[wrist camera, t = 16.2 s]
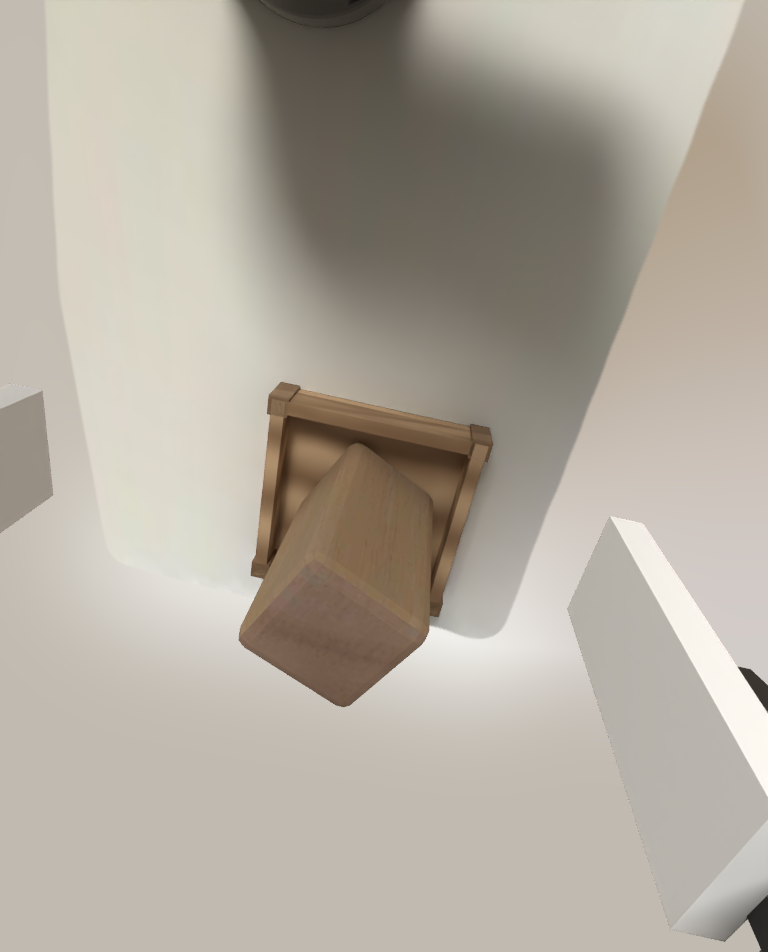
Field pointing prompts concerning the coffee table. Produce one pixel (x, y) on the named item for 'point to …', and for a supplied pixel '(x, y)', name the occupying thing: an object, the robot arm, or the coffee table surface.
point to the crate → (393, 439)
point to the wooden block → (347, 581)
